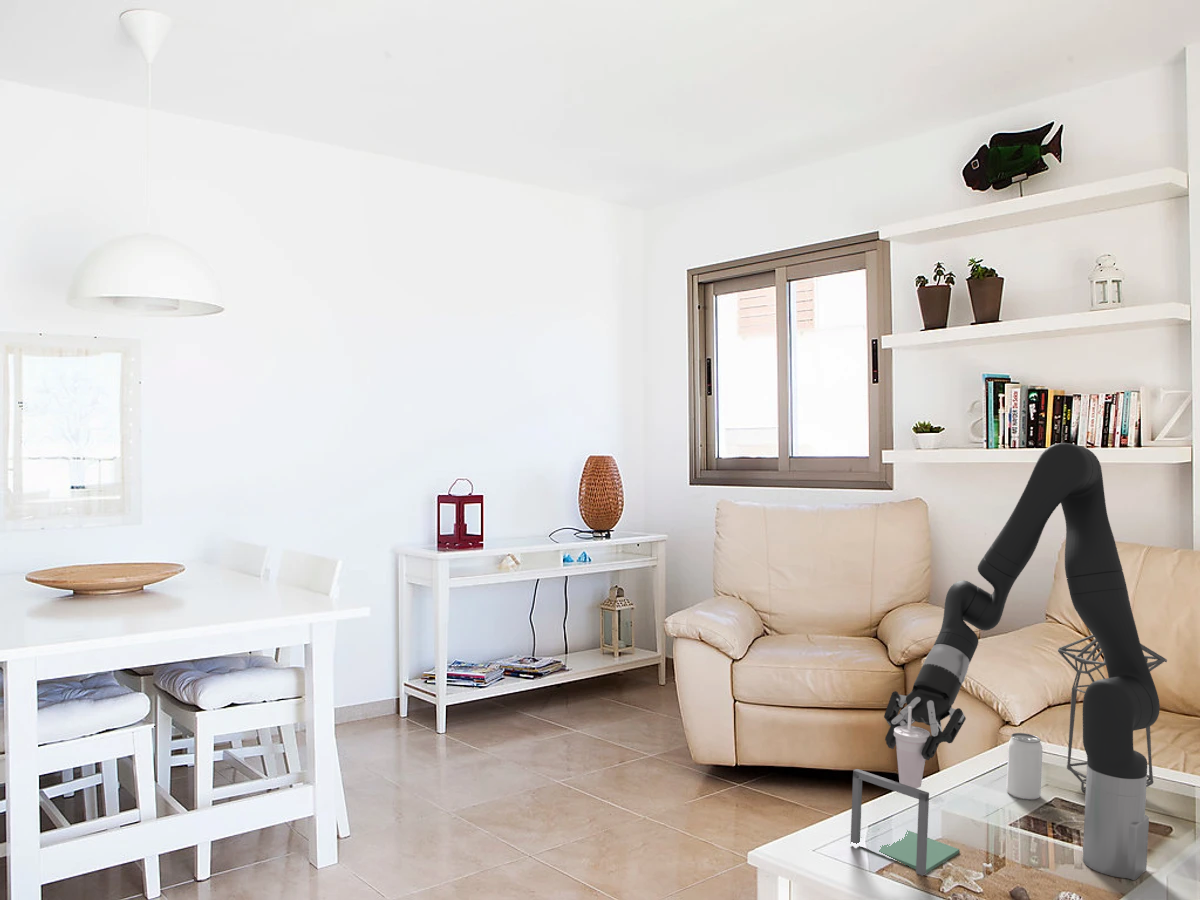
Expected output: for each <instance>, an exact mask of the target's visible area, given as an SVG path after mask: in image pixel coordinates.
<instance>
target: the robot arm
mask: <svg viewBox="0 0 1200 900" xmlns="http://www.w3.org/2000/svg"><path fill="white" fill-rule="evenodd" d="M1028 479H1029V480H1028V481H1027V484H1026V485H1025V488H1024V490H1023V491H1022V494H1021V496H1020V497H1019V499H1018V501H1017V503H1016V505H1015V507H1014V509H1013V511H1012V512H1011V514H1010V516H1009V518H1008V520H1007V521H1006V522H1005V525H1004V526H1003V527H1002V529H1001V531H1000V532H999V534H998V535H997V536H996V538H995V539H994V541H993V542H992V544H991V545H990V547H989V548H988V550H987V551H986V552H985V554H984V556H983V557H982V558H981V560H980V561H979V564H978V565H977V572H978V573H979V575H980V576H981V577H982V578H983V579H984V580H986V581H987V582H988V584H990V585H991V586H992V587H993V592H992V593H989V592H988V591H986V590H984V589H983V588H981V587H979V586H978V585H976V584H974V583H972V582H971V581H969V580H965V579H962V580H958V581H956V582H954V583H953V584H952V585H950V587H949V588H948V591H947V592H946V596H945V599H944V601H945V602H944V610H943V619H942V623H941V629H940V631H939V633H938V635H937V637H936V640H935V642H934V643H933V646H932V648H931V649H930V650H929V652H928V654H927V656H926V658H925V659H924V662H923V664H922V666H921V668H920V671H919V672H918V675H917V676H916V679H915V681H914V683H913V686H912V689H911V691H910V692H909V693H908V694H907V695H903V694H899V692H898V691H896V690H894V691H893V692H891V694H890V698H889V701H888V704H887V706H886V709H885V712H884V715H883V718H884V720H885V721H886V723H887V724H888V726H890V727H889V728H888V731H887V733H886V735H885V739H884V741H885V744H886V745H887V748H888V749H892V750H894V749H895V747H896V737H895V736H894V728H896V727H898V726H908V707H909V706H910V707H912V713H911V725H913V724H914V723H915V722H917V723H920V724H921V723H923V724H925V725H927V726H930V734H931V736H929V737H928V739H927V741H926V743H925V746H924V748H923V750H922V756H923V758H924V759H925V761H929V760H930V759H933V757H934V756H935V754H936V752H937V749H938V747H939V745H940V744H941V743H947V744H952V743H953V742H954V741H955V739H956V737H957V736H958V733H959V731H960V730H961V728H962V727H963V724H964V723H965V721H966V719H967V718H966V715H965V713H964V711H962V709H961V708H958V707H957V708H953V707H952V706H953V705H954V703H955V701H956V699H957V697H958V694H959V692H960V690H961V688H962V686H963V683H964V682H965V679H966V676H967V673H968V671H969V665H970V664H971V661H972V659H973V658H974V655H975V652H976V651H977V648H978V646H979V636H978V635H977V634H976V632H975V631H974V630H973V629H972V628H971V627H970V626H969V625H968V624H970V625H971V626H973V627H975V628H976V629H978V630H980V631H990V630H993V629H994V628H995V627H996V626H997V625H998V624H999V623H1000V622H1001V620H1002V619H1001V618H1002V616H1003V613H1004V610H1005V606H1006V602H1007V599H1008V596H1009V595H1010V594H1009V593H1010V591H1011V589H1012V587H1013V586H1014V583H1016V580H1017V579H1018V577H1019V576H1020V575H1021V573H1022V572H1023V570H1024V568H1025V567H1026V566H1027V564H1028V563H1029V561H1030V559H1031V558H1032V556H1033V554H1034V553H1035V551H1036V548H1037V546H1038V544H1039V541H1040V539H1041V536H1042V533H1043V531H1044V528H1045V526H1046V525H1047V522H1048V521H1049V519H1050V518H1051V516H1052V515H1053V513H1054V511H1055V510H1056V509H1057V507H1058V506H1059V505H1061V508H1062V512H1063V517H1064V520H1065V530H1066V531H1065V532H1066V533H1065V545H1064V546H1065V547H1064V570H1065V571H1064V573H1065V577H1066V582H1067V587H1068V591H1069V595H1070V600H1071V603H1072V605H1073V607H1074V611H1076V613H1077V615H1078V616H1079V618H1080V619H1081V621H1082V622H1083V624H1084V625H1085V626H1086V628H1087V629H1088V630H1089V632H1090V633H1091V635H1093V636H1094V637H1093V638H1094V639H1096V640H1097V642H1096V643H1098V644H1099V645H1100V647H1101V649H1100V651H1101V650H1102V655H1103V660H1104V659H1105V663H1106V665H1105V666H1106V672H1107V676H1108V677H1107V678H1105V679H1103V678H1101V679H1097V680H1094V682H1092V681H1091V682H1090V684H1088V685H1089V686H1088V687H1086V689H1085V693H1084V695H1083V699H1082V700H1083V701H1082V743H1083V748H1084V751H1085V754H1086V762H1087V765H1086V775H1085V776H1086V778H1085V779H1086V781H1085V782H1086V784H1085V787H1086V789H1085V791H1086V793H1085V796H1084V797H1085V798H1084V799H1085V802H1084V816H1083V817H1084V818H1083V819H1084V820H1083V821H1084V822H1083V843H1082V844H1083V845H1082V861H1083V863H1084V864H1085V865H1086V866H1087V867H1088V868H1090V869H1092V870H1094V871H1095V872H1098V873H1101V874H1104V875H1108V876H1111V877H1116V878H1124V879H1129V880H1131V881H1136V879H1138V878H1139V877H1140V876H1141V875H1142V874H1144V872H1146V871H1147V863H1148V845H1149V844H1148V843H1149V825H1150V824H1149V823H1150V817H1149V816H1148V815H1147V814H1146V799H1147V787H1146V785H1147V779H1148V778H1147V775H1148V761H1147V758H1146V756H1145V755H1144V754H1142V753H1141V752H1139V751H1137V750H1135V748H1134V731H1138V730H1143V729H1146V728H1147V727H1150V728H1151V726H1153V725H1154V724H1155V723H1156V722H1157V720H1158V718H1159V716H1160V710H1161V709H1160V705H1161V704H1160V699H1159V698H1160V697H1159V694H1158V691H1157V688H1156V685H1155V683H1154V679H1153V677H1152V673H1151V671H1150V670H1149V668H1150V667H1149V668H1148V665H1147V663H1148V661H1147V662H1146V659H1145V656H1146V655H1145V654H1144V652H1143V650H1142V647H1141V644H1142V643H1141V641H1140V638H1139V633H1138V630H1137V624H1136V621H1135V617H1134V614H1133V610H1132V606H1131V602H1130V598H1129V596H1130V595H1129V592H1128V588H1127V583H1126V579H1125V574H1124V569H1123V565H1122V562H1121V560H1120V557H1119V552H1118V548H1117V544H1116V540H1115V537H1114V534H1113V533H1114V532H1113V531H1112V527H1111V523H1110V521H1109V515H1108V510H1107V506H1106V505H1107V504H1106V503H1107V502H1106V496H1105V495H1106V494H1105V487H1104V486H1105V485H1104V480H1103V470H1102V466H1101V462H1100V461H1099V459H1098V457H1097V455H1096V454H1095V453H1094V452H1093V451H1091V450H1090V449H1089V448H1086V447H1084V446H1081V445H1077V444H1075V443H1074V444H1073V443H1069V442H1068V443H1067V442H1060V443H1054V444H1052V445H1050V446H1048V447H1047V448H1045V450H1043V451H1042V452H1041V454H1040V455H1039V457H1038V460H1037V461H1036V463H1035V466H1033V470H1032V472H1031V474H1030V476H1029V478H1028ZM967 623H968V624H967ZM904 704H906V706H904ZM903 707H904V708H903ZM901 708H902V709H901ZM900 709H901V710H900ZM947 717H949V720H948V722H947V724H946V725H945V727H944V728H943V729H942V720H945V719H946V718H947Z"/></svg>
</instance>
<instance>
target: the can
mask: <svg viewBox="0 0 1200 900" xmlns="http://www.w3.org/2000/svg"><path fill="white" fill-rule="evenodd" d="M1041 740H1042V739H1041V738H1040V737H1038V735H1037V736H1036V735H1034V734H1030V733H1024V732H1015V733H1012V734H1011V735H1010V739H1009V741H1008V749H1007V770H1006V791H1007V793H1008V794H1009V795H1010V796H1012V797H1014V798H1017V799H1020V800H1025V801H1034V800H1038V799H1039V798H1041V795H1042V794H1041V793H1042V792H1041V791H1042V775H1043V774H1042V773H1043V772H1042V771H1043V768H1042V767H1043V745H1042V743H1041Z"/></svg>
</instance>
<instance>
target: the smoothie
mask: <svg viewBox="0 0 1200 900" xmlns="http://www.w3.org/2000/svg"><path fill="white" fill-rule="evenodd" d="M911 713H912V707H910V706H909V707H908V725H907V726H898V727H896V728H894V736H895V737H896V745H895V747H896V748H895V749H896V758H897V759H896V760H897V771H898V780H899V782H898V783H901V784H904V785H907V786H910V787H913V788H916V789H919V788H921V786H922V783H923V776H924V769H925V765H926V763H925V762H926V759H924V758H923V756H922V750H923V748H924V746H925V743H926V741H927V739H928V737H929V736H931V735H932V734H931V731H929V730H927V729H925V728H922V727H919V726H914V725H912V724H911Z"/></svg>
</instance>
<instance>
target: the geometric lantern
mask: <svg viewBox="0 0 1200 900" xmlns="http://www.w3.org/2000/svg"><path fill="white" fill-rule="evenodd" d="M1093 638H1094V639H1093ZM1091 639H1093V640H1092V641H1091V642H1089V643H1088V644H1086V645H1085V646H1084V647H1083V648H1081V649H1076V648H1070V647H1073V646H1075V645H1078V644H1080V643H1082V642H1086V641H1088V640H1091ZM1140 644H1141V647H1142V651H1144V652H1145V653H1147V654H1148V655H1144V656H1145V659H1146V662H1147V665H1148V668H1149V670H1150V672H1152V671H1153V670H1154V669H1156V668H1158V667H1159V666H1160V665H1162V664H1164V662H1165V663H1167V662H1168V659H1167V658H1165V657H1164V656H1162V655H1160V654H1159V653H1157V652H1155V651H1154V650H1152V649H1151V648H1149V647H1147V646H1145V645H1144V644H1142V643H1140ZM1093 646H1094V647H1093ZM1092 647H1093V649H1092V650H1091V648H1092ZM1097 650H1099V652H1098V653H1097ZM1057 652H1058V654H1059V655H1061V657H1062V658H1063V659H1064V660H1065V661H1066V662H1067V663H1068V664H1069V665H1070V667H1071V668H1072V669H1073V670H1074V671H1075V673H1076V674H1075V678H1074V680H1073V684H1072V688H1071V697H1070V712H1069V713H1070V714H1069V715H1070V716H1069V729H1068V731H1069V732H1068V750H1067V753H1068V754H1067V763H1066V764H1067V765H1066V769H1067V771H1069V772H1071V773H1072V774H1073V775H1074V776H1075V777H1076V779H1078V780H1079V782H1081V784H1080V790H1081V792H1082V793H1085V794H1086V786H1084V785H1086V775H1085V774H1083V773H1081V772H1079V771H1078V770H1076V769H1074V768H1073V767H1077V766H1078V767H1079V766H1085V765H1086V766H1087V761H1082V762H1075V763H1074V762H1073V763H1071V759H1072V757H1071V756H1072V748H1073V736H1074V729H1075V728H1074V726H1075V716H1076V707H1077V706H1076V705H1077V694H1078V692H1081V693H1083V694H1085V692H1086V690H1082V689H1079V688H1088V686H1089V685H1090V684H1082V685H1079V683H1080V682H1079V681H1080V679H1081V675H1082V674H1083V675H1084V674H1085V675H1088V677H1089V678H1090V680H1091V683H1092V682H1094V681H1095V680H1094V677H1093V675H1092V674H1091V673H1093V672H1095V671H1097V672H1098V673H1099V674H1100V676H1101V677H1102V679H1106V678H1105V676H1104V675H1103V673H1102V672H1101V671H1100V669H1101V668H1102V667H1104V666H1106V663H1105V659H1104V658H1103V661H1097V660H1098V659H1099V658H1100V657H1101V655H1103V652H1102V650H1101V647H1100V645H1099V644H1098V642H1097V640H1096V639H1095V637H1094V636H1093V634H1091V635H1089V636H1086V637H1084V638H1080V639H1078V640H1076V641H1073V642H1071V643H1069V644H1065V645H1063V646H1061V647H1059V648H1058V649H1057ZM1071 652H1074V653H1071ZM1075 653H1078V654H1077V655H1076V654H1075ZM1096 653H1097V654H1096ZM1086 654H1088V655H1087V657H1086V658H1084V655H1086ZM1066 655H1067V656H1068V657H1070V658H1072V659H1073V660H1074V664H1075V665H1074V664H1073V663H1072V661H1071V660H1070V659H1069V658H1068V657H1067V656H1066ZM1091 657H1092V660H1090V659H1091ZM1149 659H1150V660H1155V661H1150V662H1148V660H1149ZM1078 663H1080V664H1079V666H1078ZM1083 665H1084V666H1083ZM1087 665H1093V666H1094V667H1092V668H1090V669H1088V668H1087ZM1083 667H1084V670H1083ZM1145 734H1146V736H1145V737H1146V745H1147V758H1148V774H1147V784H1146V788H1147V787H1150V786H1152V785H1153V784H1154V777H1153V776H1154V775H1153V764H1152V763H1153V762H1152V745H1151V744H1152V741H1151V739H1152V738H1151V737H1152V736H1151V726H1150V727H1147V728H1145ZM1081 777H1082V778H1084V779H1082V778H1081Z"/></svg>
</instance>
